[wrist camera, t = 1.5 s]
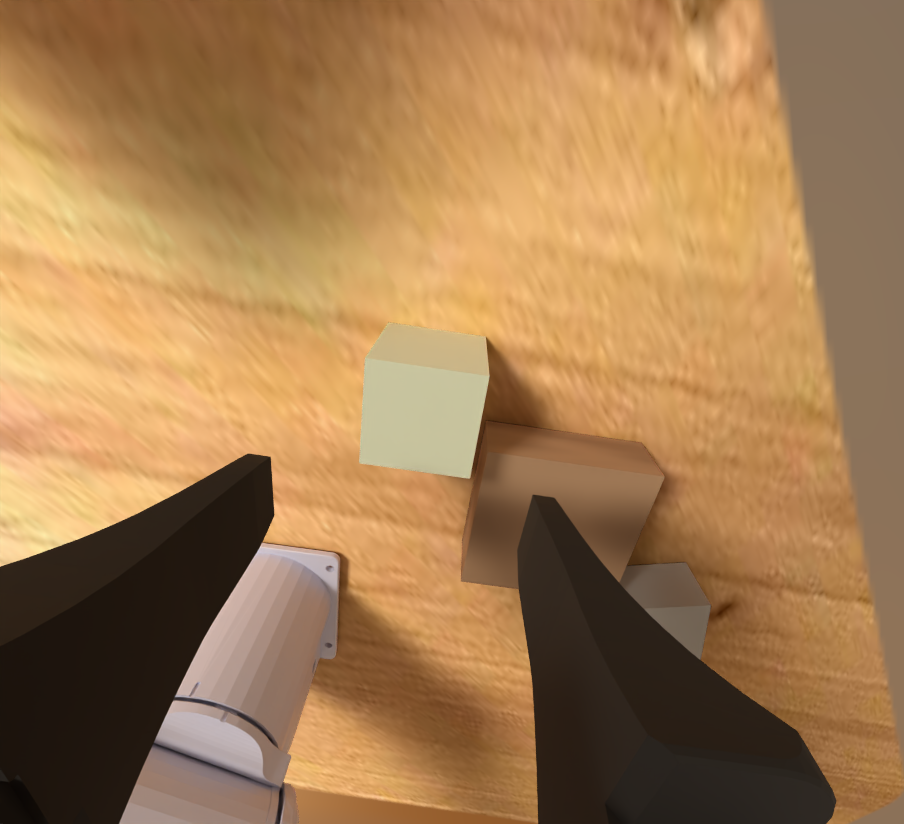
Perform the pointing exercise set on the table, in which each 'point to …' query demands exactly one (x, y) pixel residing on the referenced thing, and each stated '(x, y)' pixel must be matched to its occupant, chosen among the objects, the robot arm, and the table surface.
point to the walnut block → (555, 496)
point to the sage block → (423, 400)
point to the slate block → (671, 600)
